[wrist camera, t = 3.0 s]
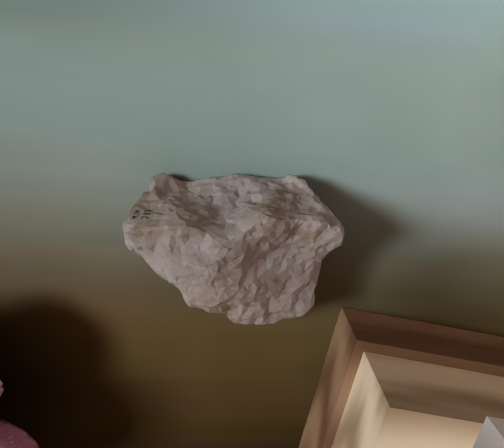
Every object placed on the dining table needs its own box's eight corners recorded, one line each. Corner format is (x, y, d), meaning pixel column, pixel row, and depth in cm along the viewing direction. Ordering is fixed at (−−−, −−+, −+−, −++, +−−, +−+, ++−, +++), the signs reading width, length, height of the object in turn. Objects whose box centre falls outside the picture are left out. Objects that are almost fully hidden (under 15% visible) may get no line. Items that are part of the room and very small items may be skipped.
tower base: (339, 303, 24) (356, 340, 20) (522, 337, 25) (572, 379, 21) (293, 455, 28) (301, 511, 24) (456, 481, 28) (489, 539, 25)
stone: (298, 311, 24) (311, 375, 18) (136, 277, 23) (98, 331, 18) (336, 183, 22) (365, 210, 16) (158, 141, 21) (122, 155, 16)
